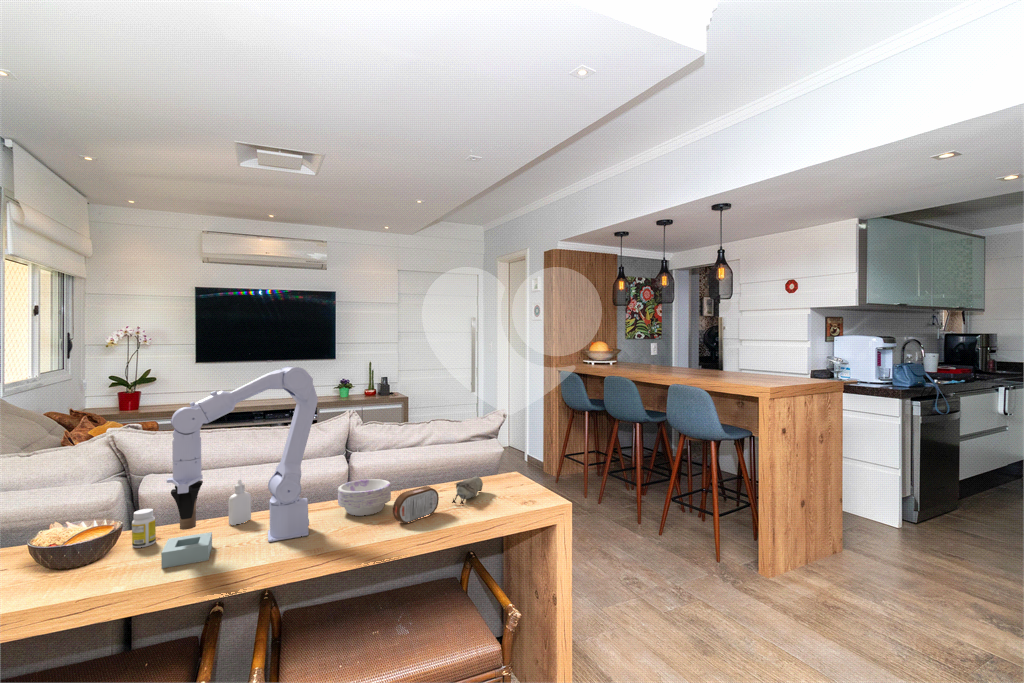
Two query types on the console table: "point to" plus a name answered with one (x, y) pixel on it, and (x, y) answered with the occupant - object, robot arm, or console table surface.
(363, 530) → the console table surface
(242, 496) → the eye dropper bottle
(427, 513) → the tin
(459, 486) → the decorative bird
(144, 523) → the supplement bottle
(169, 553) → the socket block
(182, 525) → the pin
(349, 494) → the paper bowls
